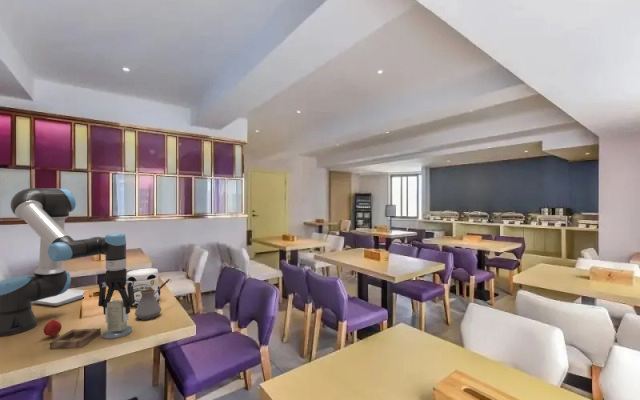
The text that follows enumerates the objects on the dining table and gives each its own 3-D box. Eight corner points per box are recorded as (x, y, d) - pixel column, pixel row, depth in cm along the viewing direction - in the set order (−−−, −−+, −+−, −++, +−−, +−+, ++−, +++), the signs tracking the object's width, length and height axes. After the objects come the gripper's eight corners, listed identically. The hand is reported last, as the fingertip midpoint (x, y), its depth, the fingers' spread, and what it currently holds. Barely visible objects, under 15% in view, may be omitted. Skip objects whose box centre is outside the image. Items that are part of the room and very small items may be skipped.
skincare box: (127, 327, 136) (127, 300, 136) (120, 331, 132) (120, 303, 132) (113, 326, 137) (114, 299, 137) (106, 330, 132) (106, 302, 132)
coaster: (96, 339, 128) (96, 337, 128) (112, 328, 139) (111, 326, 139) (123, 338, 129) (123, 336, 129) (137, 327, 140) (137, 325, 140)
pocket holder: (49, 349, 121) (49, 342, 121) (71, 335, 133) (71, 329, 133) (81, 347, 122) (81, 341, 122) (100, 334, 134) (100, 328, 134)
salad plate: (28, 305, 172) (28, 299, 172) (69, 293, 192) (69, 288, 192) (55, 309, 166) (55, 302, 166) (94, 296, 186) (94, 291, 186)
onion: (40, 341, 128) (40, 322, 128) (48, 335, 133) (48, 316, 133) (57, 339, 129) (56, 320, 129) (64, 333, 135) (64, 315, 135)
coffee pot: (148, 322, 146) (148, 291, 146) (129, 320, 149) (128, 289, 149) (179, 306, 167) (179, 279, 166) (161, 304, 169) (161, 277, 169)
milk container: (136, 310, 161) (135, 276, 160) (118, 305, 169) (117, 272, 169) (166, 301, 176) (166, 269, 175) (149, 296, 184) (148, 266, 184)
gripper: (86, 271, 129) (87, 325, 130) (135, 270, 131) (135, 323, 131) (98, 267, 137) (99, 318, 137) (143, 266, 138) (144, 316, 139)
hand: (117, 321), depth 134 cm, fingers closed on skincare box, 7 cm apart
